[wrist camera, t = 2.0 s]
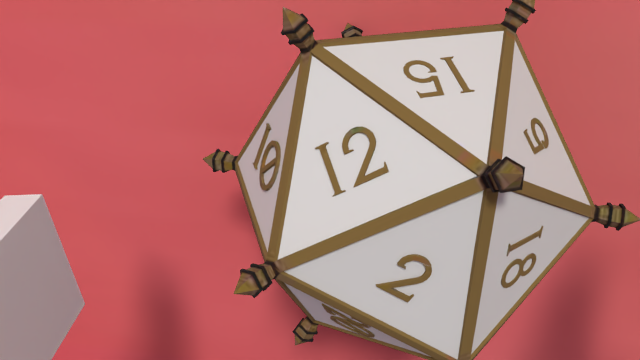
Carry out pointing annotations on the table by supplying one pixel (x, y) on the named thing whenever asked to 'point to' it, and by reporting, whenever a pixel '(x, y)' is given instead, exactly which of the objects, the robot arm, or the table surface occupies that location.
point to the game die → (411, 185)
